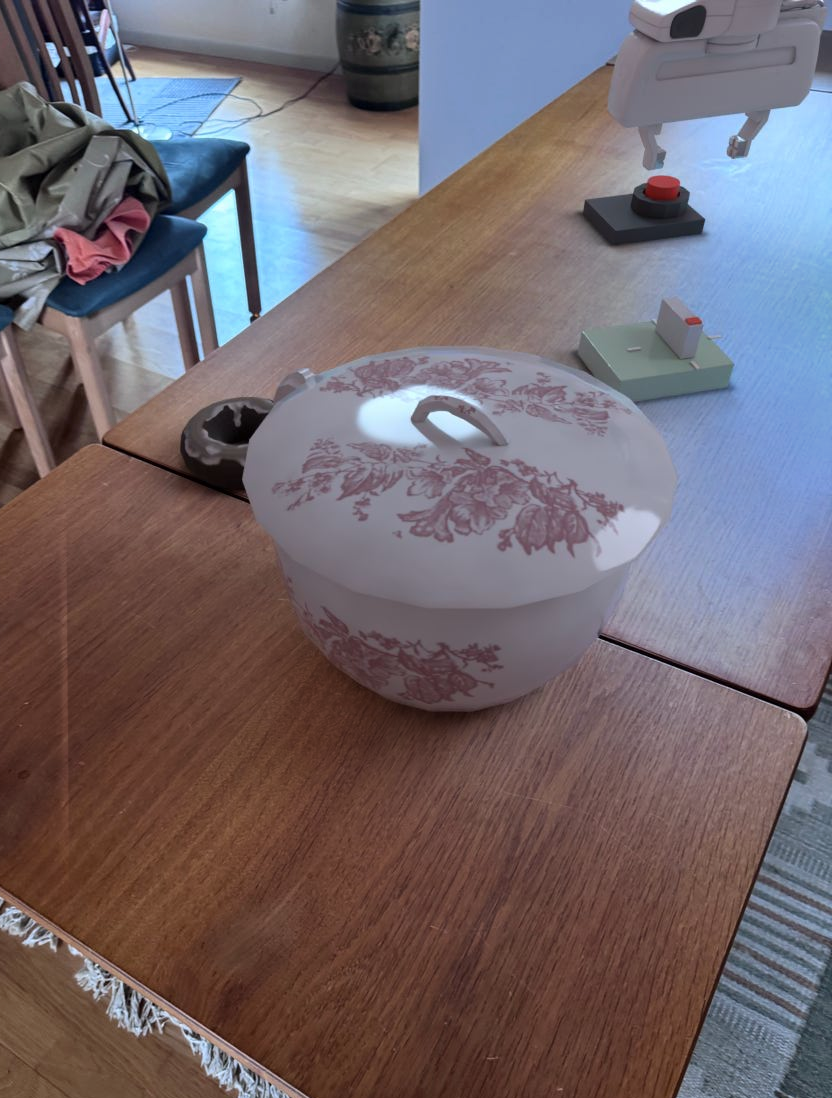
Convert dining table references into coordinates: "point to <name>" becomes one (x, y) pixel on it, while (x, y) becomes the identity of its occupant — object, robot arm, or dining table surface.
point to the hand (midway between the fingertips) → (694, 162)
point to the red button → (662, 187)
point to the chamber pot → (456, 516)
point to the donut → (222, 439)
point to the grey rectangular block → (679, 327)
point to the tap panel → (651, 362)
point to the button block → (643, 217)
